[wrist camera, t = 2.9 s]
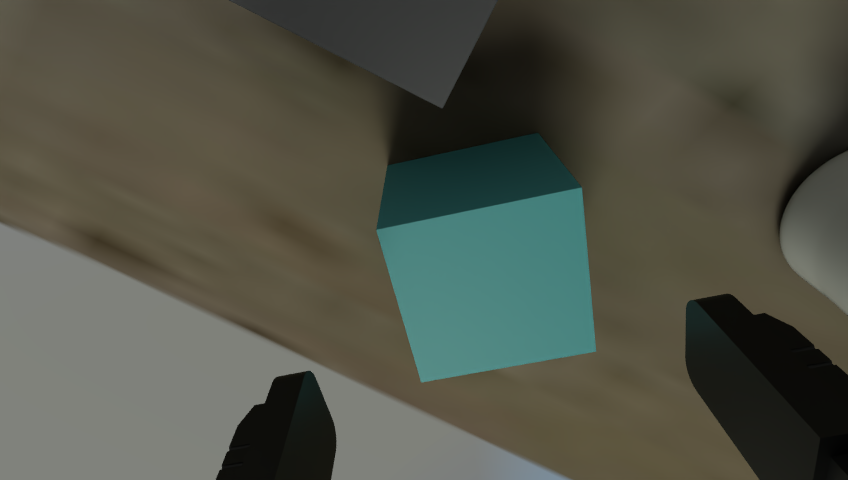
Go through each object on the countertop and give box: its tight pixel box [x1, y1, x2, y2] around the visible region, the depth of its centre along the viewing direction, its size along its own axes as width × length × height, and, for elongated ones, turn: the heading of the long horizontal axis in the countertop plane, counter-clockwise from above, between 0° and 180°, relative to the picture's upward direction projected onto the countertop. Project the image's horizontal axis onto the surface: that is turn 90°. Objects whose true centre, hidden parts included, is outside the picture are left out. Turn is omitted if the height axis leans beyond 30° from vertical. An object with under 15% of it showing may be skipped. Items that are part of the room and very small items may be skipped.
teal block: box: [376, 133, 596, 382], centre depth 15 cm, size 5×5×5 cm
